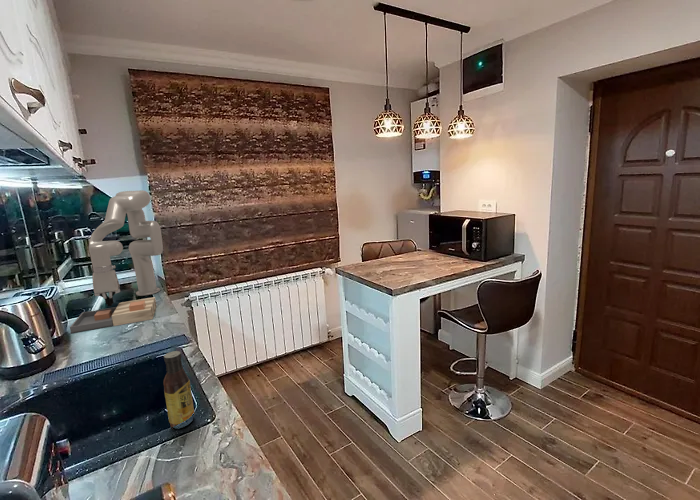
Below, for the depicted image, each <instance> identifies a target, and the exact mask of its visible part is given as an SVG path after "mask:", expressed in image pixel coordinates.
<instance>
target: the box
mask: <svg viewBox="0 0 700 500" xmlns="http://www.w3.org/2000/svg"><path fill="white" fill-rule="evenodd" d="M116 308H117V306H115V307H108V308H101V309H96V310H89V311H85V312H83V311H82V312H81V314H80V315H79V316H77V318H76V319H75V321H73V323H72V324H71V325H70V326H69V331H70V334H77V333H83V332H87V331H93V330H98V329H103V328H111V327H114V325H113V320H112V315H111V317H110V318H108V319H102V320H97V321H95V318H94V315H95V314H96V312H99V311H105V310H111V311H112V314H113V313H114V311H115V310H116Z"/></svg>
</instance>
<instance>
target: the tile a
mask: <svg viewBox="0 0 700 500" xmlns="http://www.w3.org/2000/svg"><path fill="white" fill-rule="evenodd" d="M111 315H112V311H111V310H105V311H99V312H96V314H95V315H94V318H95V321H97V320H102V319H108V318H110V317H111Z"/></svg>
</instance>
